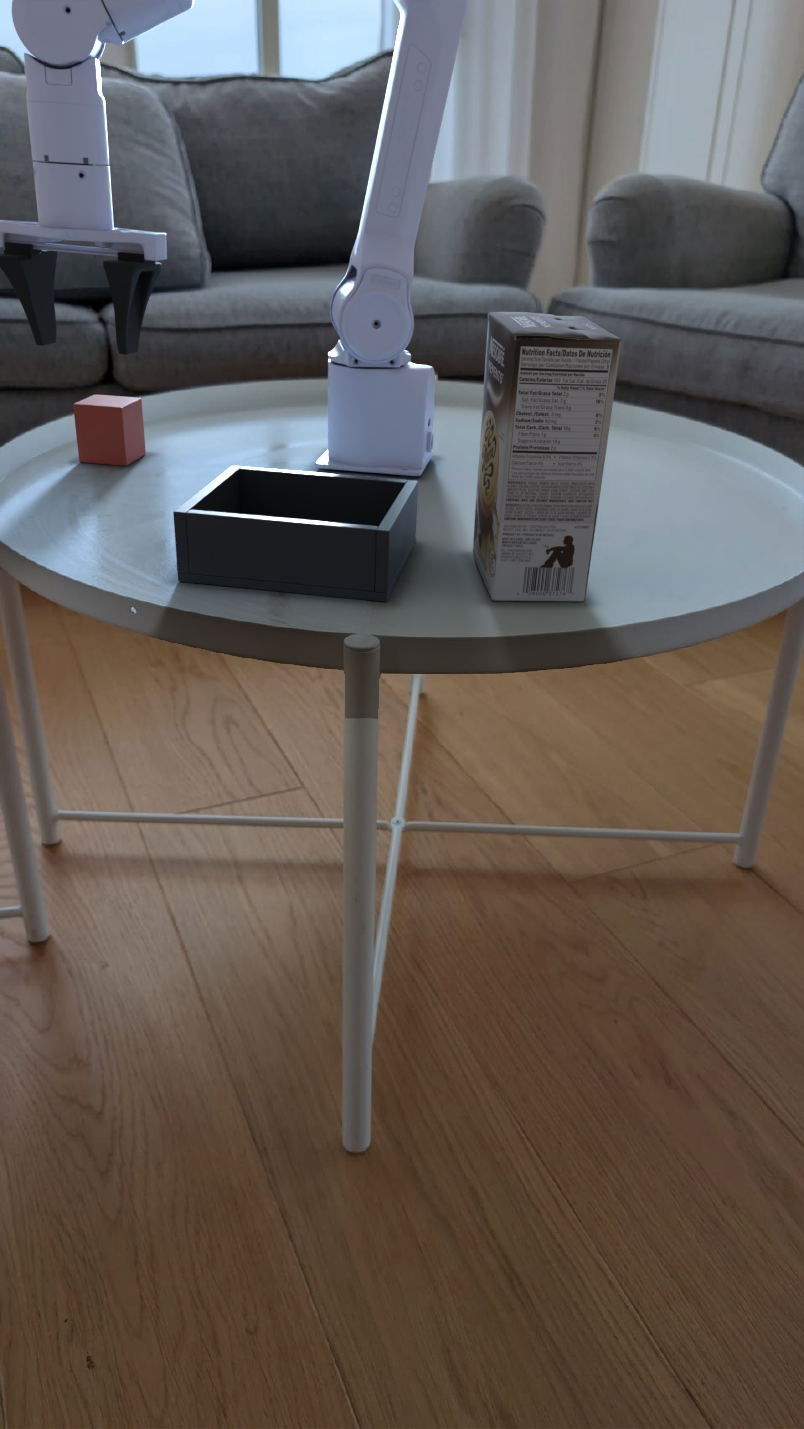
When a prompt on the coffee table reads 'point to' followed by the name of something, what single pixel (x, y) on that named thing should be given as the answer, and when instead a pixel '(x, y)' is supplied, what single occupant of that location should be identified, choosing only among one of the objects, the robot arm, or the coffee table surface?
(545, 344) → the grey cardboard tall box
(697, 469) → the coffee table surface
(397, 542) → the open box
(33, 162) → the robot arm
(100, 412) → the block
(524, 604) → the coffee table surface
